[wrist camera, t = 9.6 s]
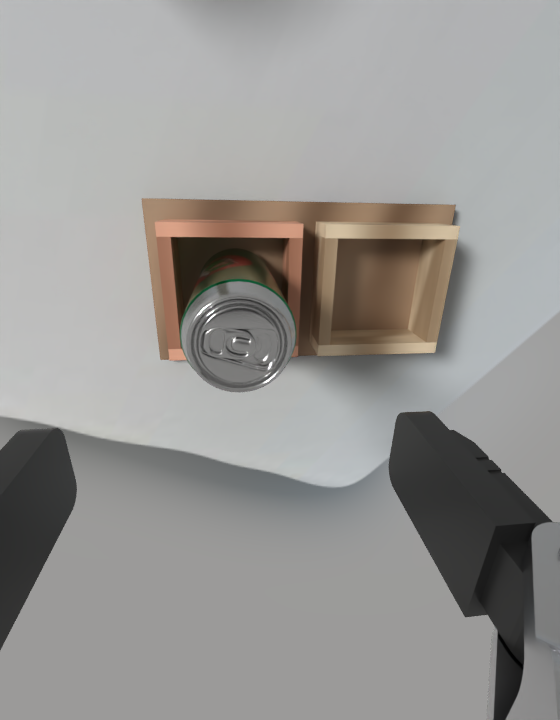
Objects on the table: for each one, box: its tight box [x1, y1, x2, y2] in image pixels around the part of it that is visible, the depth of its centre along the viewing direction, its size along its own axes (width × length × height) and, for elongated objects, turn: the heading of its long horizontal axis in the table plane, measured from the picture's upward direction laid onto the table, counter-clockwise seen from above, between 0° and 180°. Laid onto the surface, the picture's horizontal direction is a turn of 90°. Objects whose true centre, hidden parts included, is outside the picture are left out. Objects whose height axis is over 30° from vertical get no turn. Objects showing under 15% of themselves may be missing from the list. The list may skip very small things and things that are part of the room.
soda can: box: [180, 248, 297, 392], centre depth 21 cm, size 5×5×12 cm
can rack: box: [142, 199, 460, 360], centre depth 26 cm, size 21×11×4 cm, turn 89°
